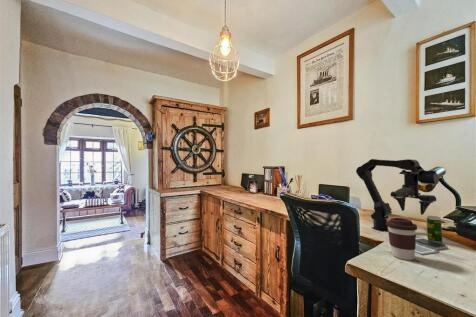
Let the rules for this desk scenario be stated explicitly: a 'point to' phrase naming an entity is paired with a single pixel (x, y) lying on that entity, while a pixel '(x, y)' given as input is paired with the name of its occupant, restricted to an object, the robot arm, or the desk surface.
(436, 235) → the green soda can
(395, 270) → the desk surface
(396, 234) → the coffee cup
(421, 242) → the ink pad
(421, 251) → the mat
